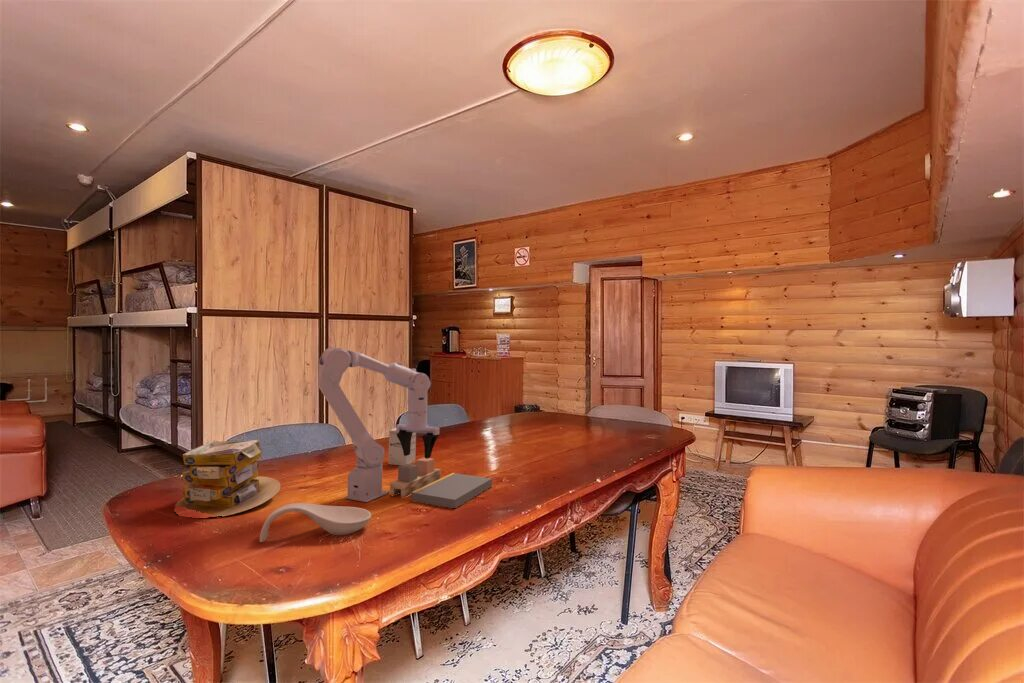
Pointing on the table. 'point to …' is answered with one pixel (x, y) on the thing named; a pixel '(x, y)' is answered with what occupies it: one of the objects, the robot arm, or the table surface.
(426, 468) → the salmon pink cube
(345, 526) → the spoon rest
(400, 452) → the supplement box
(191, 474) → the stacked yellow boxes
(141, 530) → the table surface
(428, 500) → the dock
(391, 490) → the tan piece
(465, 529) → the table surface
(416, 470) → the grey cube
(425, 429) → the robot arm
